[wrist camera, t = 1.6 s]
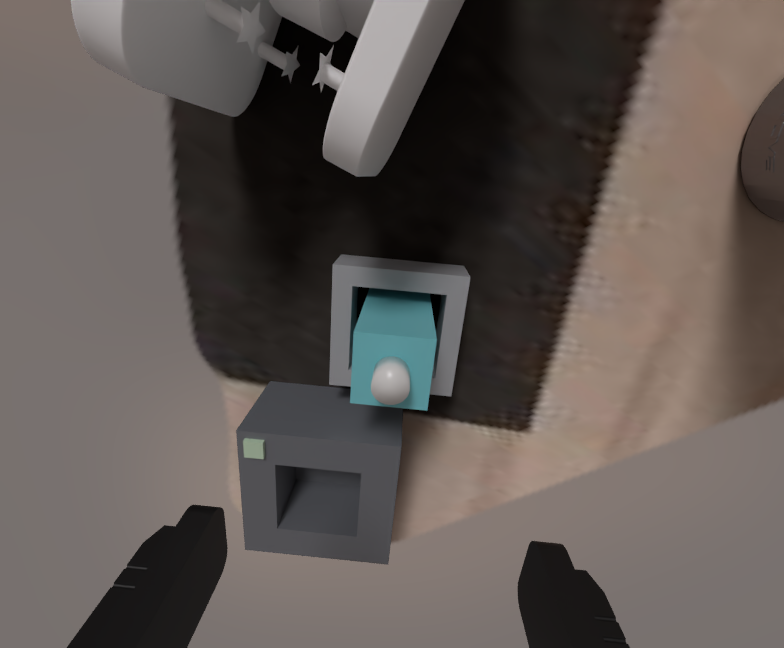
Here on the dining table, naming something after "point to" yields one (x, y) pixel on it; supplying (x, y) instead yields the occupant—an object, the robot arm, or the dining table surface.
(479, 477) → the dining table surface
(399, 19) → the cable organizer
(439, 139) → the dining table surface
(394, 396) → the plug
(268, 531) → the port
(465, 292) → the grey square hollow frame
